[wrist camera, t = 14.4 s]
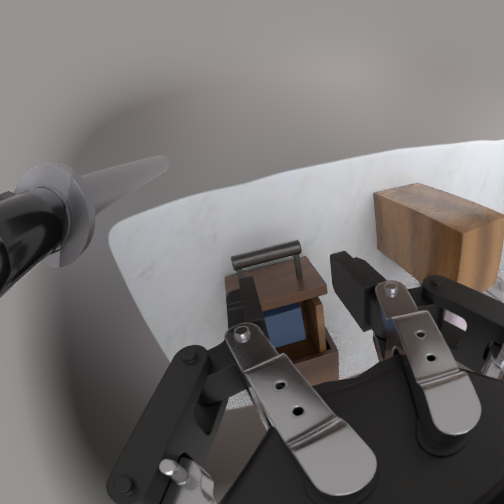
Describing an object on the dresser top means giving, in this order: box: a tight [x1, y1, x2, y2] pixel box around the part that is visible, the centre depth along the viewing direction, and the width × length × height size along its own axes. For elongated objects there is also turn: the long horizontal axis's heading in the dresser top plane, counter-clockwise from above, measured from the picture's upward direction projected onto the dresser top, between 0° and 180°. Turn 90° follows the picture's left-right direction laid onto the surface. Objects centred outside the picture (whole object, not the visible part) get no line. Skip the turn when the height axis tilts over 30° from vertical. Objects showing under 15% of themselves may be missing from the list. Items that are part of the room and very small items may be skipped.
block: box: [263, 302, 306, 348], centre depth 32 cm, size 5×5×5 cm
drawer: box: [225, 240, 327, 361], centre depth 32 cm, size 17×10×7 cm, turn 13°
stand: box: [374, 183, 504, 293], centre depth 27 cm, size 8×8×16 cm
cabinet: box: [263, 326, 339, 427], centre depth 36 cm, size 13×11×9 cm
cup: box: [482, 270, 504, 303], centre depth 36 cm, size 10×9×12 cm
